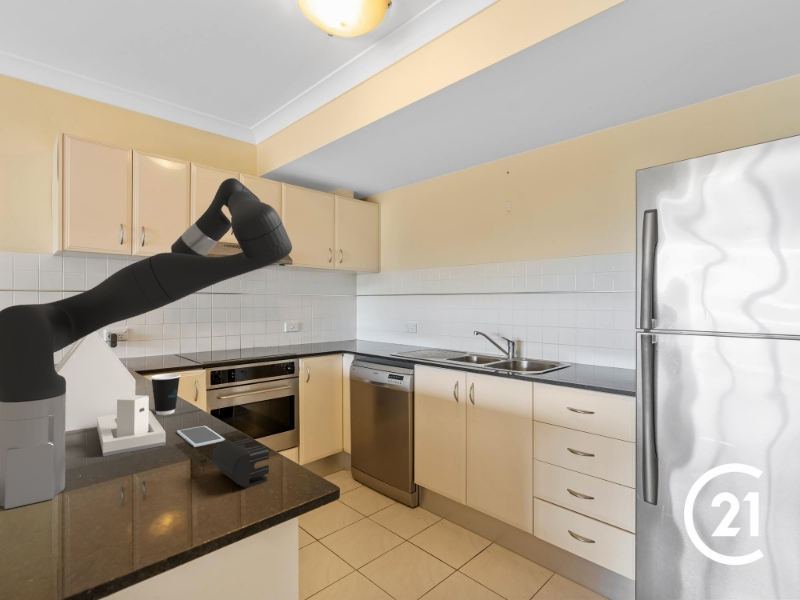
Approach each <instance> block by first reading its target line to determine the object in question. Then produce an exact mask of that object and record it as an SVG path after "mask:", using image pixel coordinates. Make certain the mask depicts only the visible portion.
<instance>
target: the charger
mask: <svg viewBox="0 0 800 600" xmlns="http://www.w3.org/2000/svg"><path fill="white" fill-rule="evenodd" d="M149 398H150V396H149V395H141V394H140V395H138V394H135V395H130V396H127V397H124V398H120V399H117V438H119V437H125V436H131V435H137V434H143V433H148V417H149V403H150V400H149Z"/></svg>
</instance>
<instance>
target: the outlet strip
mask: <svg viewBox="0 0 800 600" xmlns="http://www.w3.org/2000/svg"><path fill="white" fill-rule="evenodd" d="M96 430H97V434H98V439H99V445H100V449H101V453H102V457H108V456H113V455H118V454H124V453H130V452H136V451H139V450H140V451H141V450H145V449H151V448H157V447H162V446H163V447H164V446H166V444H167V443H166V442H167V441H166V438H167V437H166V435H167V433H166V431H165V429H164V428H163V427H162V425H161V424H160V421H158V419H157V418H156V417H155V415H154V413H153V412H152V411H151V410H149V417H148V433H143V434H137V435H131V436H125V437H119V438H117V415H110V416H103V417H97V427H96Z"/></svg>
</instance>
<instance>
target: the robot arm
mask: <svg viewBox="0 0 800 600" xmlns="http://www.w3.org/2000/svg"><path fill="white" fill-rule="evenodd" d="M224 206H225V207H226V208H227V210H228V212H229V214H230V216H231V218H230V219H231V220H230V219H229V217H228V216H226V214H225V213H224V211H223V210H222V209H223V207H224ZM230 229H231V230H232V233H233V236H234V238H235V239H236V241H237V243H238V245H239V248H241V252H239V253H235V254H231V255H226V256H207V255H208V254H209V253H210V252H211V251H212V250H213V248H215V247H216V245H217V243H219V241H220V240H221V239H222V238H223V237H224V236H225V235H226V234H227V233H228V232H229V231H230ZM291 241H292V240H291V239H290V237H289V235H288V233H287V230H286V228H285V226H284V224H283V221H282V220H281V217H280V215H279V213H278V212H277V210H276V209H275V208H274V207H273V206H272V205H270V204H268V203H265V202H262V201H261V199H260V198H259V197H258V196H257V195H256V194H255V193H254V192H253V191H251V189H249V188H248V187H246V186H245V185H244V184H243V183H242V182H241V181H240V180H238V179H237V178H234V177H231V178H227V179H225V180H223V181H222V182H221V183H220V185H219V187H218V189H217V191H216V192H215V195H214V197H213V199H212V201H211V203H210V204H209V207H207V209H206V210H205V212H203V213H202V215H200V217H199V218H198V219H197V220H196V221H195V222H194V223H193V224H192V225H190V226H189V227H188V228H187V229H186V230H185V231H184V232H183V233H182V234H181V235H180V236H179V237H178V239H176V241H174V243H172V244H171V247H170V249H171V251H170V252H161V253H157V254H153V255H151V256H149V257H146V258H144V259H141V260H138V261H136V262H134V263H131V264H129V265H127V266H125V267H123V268H121V269H119V270H118V271H115V272H114V273H113V274H111V275H109V276H108V277H107V278H105V279H104V280H103V281H102V282H100V283H99V284H97V285H95V286H94V287H92V288H91V289H88V290H86V291H83V292H81V293H78V294H74V295H72V296H68V297H66V298H62V299H59V300H56V301H51V302H47V303H46V302H45V303H34V304H33V303H32V304H29V303H28V304H27V303H26V304H17V305H16V304H15V305H11V306H8V307H7V306H6V307H5V308H3V309H2V310H0V507H3V509H4V510H8V509H13V508H17V507H21V506H26V505H31V504H35V503H40V502H43V501H49V500H53V499H54V498H55V496H57V495H58V494H60V493H61V492H63V491H64V490H65V488H66V432H67V431H66V380H65V378H64V377H63V376H61V375H58V374H57V372H56V371H55V367H56V366H55V357H54V356H55V353H57V352H59V351H61V350H63V349H64V348H67V347H68V346H70V345H73V344H74V343H75V342H76V341H78V340H79V339H81V338H83V337H85V336H87V335H89V334H91V333H93V332H95V331H96V332H97V331H99V330H100V329H103V328H105V327H107V326H109V325H112V324H113V325H114V324H115V323H118V322H121V321H122V322H123V321H125V320H129V319H133V318H134V317H138V316H142V315H144V314H146V313H149V312H151V311H155V310H157V309H161V308H162V307H164V306H167V305H169V304H172V303H174V302H176V301H179V300H181V299H183V298H185V297H189V296H190V295H192V294H195V293H197V292H199V291H202V290H204V289H206V288H208V287H211V286H213V285H216V284H218V283H222V282H223V281H226V280H230V279H233V278H236V277H239V276H241V275H245V274H248V273H249V272H250V273H251V272H254V271H256V270H259V269H263V268H265V267H267V266H270V265H271V266H272V264H275V263H277V262H280V261H281V260H283V259H285V258H286V257H288V256H289V254H291V252H292V250H293V244H292V242H291Z"/></svg>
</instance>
